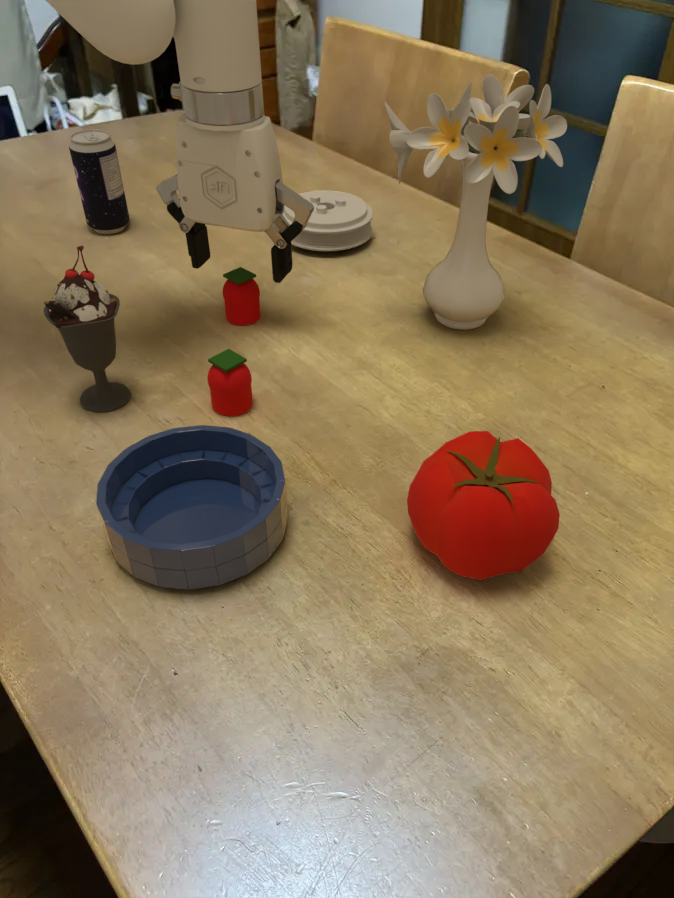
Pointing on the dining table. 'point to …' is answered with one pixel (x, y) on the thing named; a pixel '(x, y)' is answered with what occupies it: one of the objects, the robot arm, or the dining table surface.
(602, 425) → the dining table surface
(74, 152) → the beverage can
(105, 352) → the sundae
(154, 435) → the bowl
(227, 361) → the strawberry
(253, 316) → the strawberry
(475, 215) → the flower vase
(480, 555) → the tomato
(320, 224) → the lid
